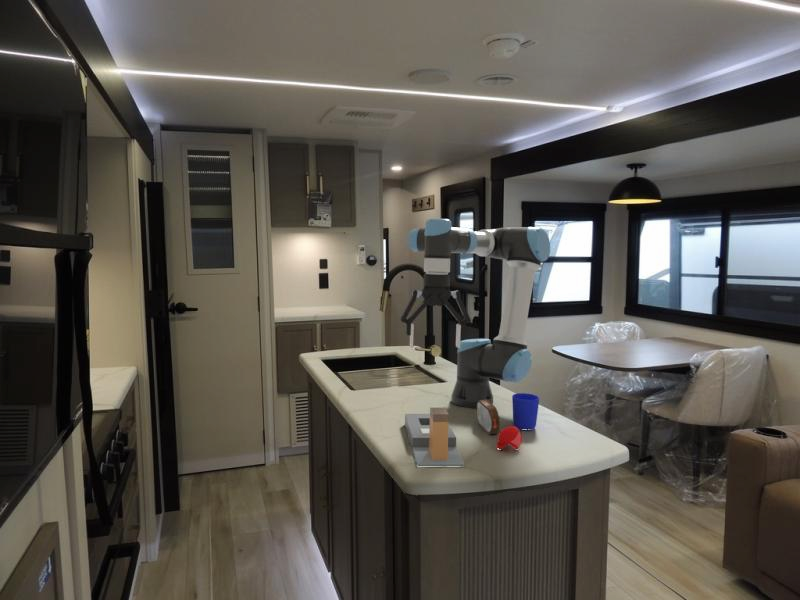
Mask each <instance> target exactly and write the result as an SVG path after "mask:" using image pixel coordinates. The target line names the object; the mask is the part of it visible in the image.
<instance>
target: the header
mask: <svg viewBox="0 0 800 600" xmlns="http://www.w3.org/2000/svg"><path fill="white" fill-rule="evenodd" d="M404 427H405V430H406V433H407V437H408V439H409V443H411V444H410V447H411V450H412V451H413V447H429V428H430V413H404ZM448 447H456V448H457V436H456V434H455V432H454V431H453V429H452V427H451V425H450V424H449V428H448Z"/></svg>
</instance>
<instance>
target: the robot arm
mask: <svg viewBox="0 0 800 600" xmlns="http://www.w3.org/2000/svg"><path fill="white" fill-rule="evenodd" d="M424 225H425V227H424V228H421V227H419V228H413V229H411V230H410V231H409V233H408V235H407V246H408V248H409V250H411V251H412V252H414V253H419V254H421V253H424V255H423V256H424V257H423V258H424V259H423V272H424V274H423V283H422V284H423V288H422V290H417V289H413V290H412V291H411V297H410V299H409V301H408V303H407V305H406V307H405V309H404V311H403V312H402V313H401V316H400V318H399V320H400V321H401V322H402V323H404V324H406V326H405V327H406V329H405V330H406V331H405V333H406V336H409V347H410V348H414V336H415V335H414V331H415V330H414V327H415V324H414V323H413V322H414V321H415V319H416V318H417V317H418V316H419V315H420V314H421V313H422V312H423V311H424V310H425V309H426V308H427V306H428V305H429V306H431V307H435V306H438V307H442V306H445V307H446V308H447V310H449V312H450V314H451V315H452V317H454V318H455V320H456V321H457V324H456V327H455V328H456V329H455V347H456V348H457V352H456V355H457V356H456V357H457V358H456V363H457V364H456V382H455V385H454V386H453V390H452V391H451V392H452V393H451V396H450V397H451V399H450V402H451V403H452V404H454V405H456V406H460V407H463V408H464V407H465V408H472V409H473V408H474V409H477V402H478V401H479V400H486V399H487V400H488V401H489V402H490V403H491V404H493V405H494V395H493V391H492V388H491V385H490V379H495V380H498V381H503V382H508V383H509V382H510V383H520V382H521V381H524V379H525V378H526V377H527V376H528V374H529V373H530V369H532V363H533V358H532V353H531V351H530V350H528V349H527V348H528V344H527V342H526V341H525V334H526V327H527V323H528V317H529V310H530V304H531V299H532V293H533V285H534V280H535V276H536V275H535V274H536V271H538V270H539V269H541V265H542V262H545V261H547V260H548V259H549V257H550V254H551V241H550V238H549V235H548V233H547V231H546V230H545V229H544V228H542V227H535V226H528V227H527V226H526V227H525V226H524V227H523V226H521V227H518V226H517V227H499V228H491V229H480V230H477V231H474V230H473V229H471V228H467V227H453V226H452V221H451V220H450V219H448V218H429V219H427V220H426V221H425V224H424ZM451 254H464V255H465V254H476V255H477V256H479V257H487V258H491V259H492V258H493V259H498V260H505V261H506V264H507V265H508V267H509V273H508V280H507V285H506V291H505V296H504V297H505V298H504V303H503V309H502V313H501V315H502V316H501V321H500V327H499V331H498V335H497V336H495V337H494V338H493V341H492V342H491V339H489V338H470V339H469V338H468V339H464V340H461V337H462V336H465V325H466V324H470V323H471V322H472V319H471V317H470V315H469V313H468V311H467V309H466V307H465V304H464V303H463V300H462V297H461V296H462V294H461V291H460V290H458V289H457V290H454V291H451V289H450V281H451V278H450V277H451V275H450V274H449V273H450V272H451ZM420 296H421V297H422V298H423V301H421V303H420V304H419V305H418V307H417V308H416V309H415V310H414V311H413V312H411V310H412V308H413V307H414V305H415V303H416V300H417V299H418V298H420ZM451 296H452V298H453V299H455V301H456V303H457V306H458V308H459V310H460V313H461V314H462V316H460V315H459V313H458V311H456V310H455V308H454V307H453V305H452V304H451V303H450V302H449V301H448V300H449V299H450V297H451ZM410 312H411V315H410V316H409V314H410ZM408 316H409V317H408ZM462 317H463V318H462Z"/></svg>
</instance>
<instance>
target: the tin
mask: <svg viewBox="0 0 800 600" xmlns="http://www.w3.org/2000/svg"><path fill="white" fill-rule="evenodd" d="M476 417H477V421H478V424H479V425H480V427H481V428H482V429H483V430H484V431H485V432H486V433H487V434H488V435H497V434H498V435H499V434H500V433H499V431H500V430H501V429H500V428H501V421H500V416H499V412H498V409H497V407H496V406H495V405H494V403H493V404H491V403H490V402H489V401H488V400H487V399H486V400H479V401H478V402H477V408H476Z"/></svg>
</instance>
